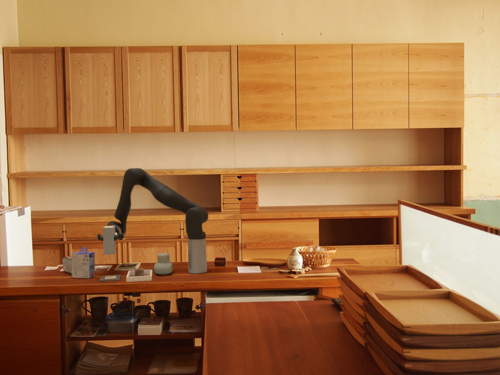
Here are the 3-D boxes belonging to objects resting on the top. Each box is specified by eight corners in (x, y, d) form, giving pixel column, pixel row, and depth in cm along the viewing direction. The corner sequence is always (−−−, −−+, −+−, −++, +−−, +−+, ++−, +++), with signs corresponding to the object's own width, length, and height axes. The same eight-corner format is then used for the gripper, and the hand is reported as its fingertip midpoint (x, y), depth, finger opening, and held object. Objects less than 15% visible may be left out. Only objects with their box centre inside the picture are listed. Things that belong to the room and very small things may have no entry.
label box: (115, 252, 225) (114, 225, 224) (114, 254, 220) (113, 227, 219) (105, 252, 224) (104, 226, 223) (103, 254, 219) (102, 227, 218)
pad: (121, 275, 228) (120, 274, 228) (119, 280, 219) (119, 279, 219) (102, 276, 226) (102, 275, 226) (99, 281, 217) (99, 280, 217)
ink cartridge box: (95, 276, 228) (95, 247, 228) (89, 278, 223) (88, 249, 222) (78, 275, 230) (77, 246, 230) (71, 278, 225) (70, 248, 224)
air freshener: (170, 276, 226) (169, 256, 226) (153, 276, 226) (153, 256, 226) (173, 270, 237) (173, 251, 237) (157, 271, 237) (157, 252, 237)
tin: (80, 275, 231) (80, 258, 231) (74, 276, 229) (74, 259, 228) (67, 270, 241) (66, 254, 241) (61, 271, 239) (60, 255, 239)
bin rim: (152, 273, 231) (152, 269, 231) (151, 280, 218) (151, 275, 218) (128, 275, 229) (128, 270, 229) (126, 281, 216) (126, 277, 216)
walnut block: (143, 278, 223) (143, 268, 223) (143, 280, 219) (143, 270, 219) (135, 278, 222) (135, 268, 222) (134, 280, 218) (134, 270, 218)
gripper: (98, 226, 234) (92, 231, 218) (127, 225, 237) (123, 230, 220) (98, 241, 235) (93, 247, 218) (127, 240, 237) (124, 246, 221)
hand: (108, 239), depth 219 cm, fingers closed on label box, 5 cm apart
